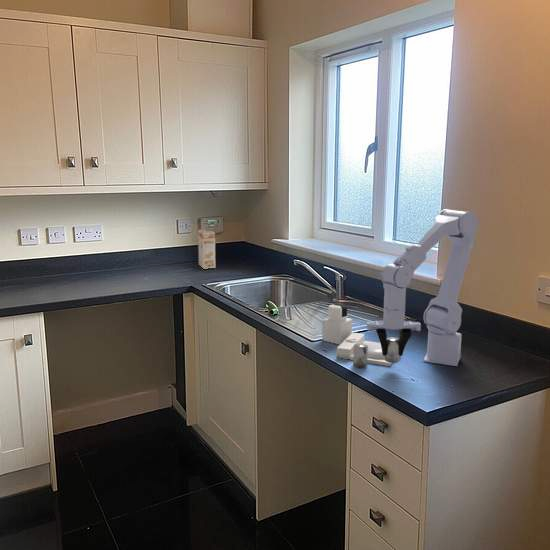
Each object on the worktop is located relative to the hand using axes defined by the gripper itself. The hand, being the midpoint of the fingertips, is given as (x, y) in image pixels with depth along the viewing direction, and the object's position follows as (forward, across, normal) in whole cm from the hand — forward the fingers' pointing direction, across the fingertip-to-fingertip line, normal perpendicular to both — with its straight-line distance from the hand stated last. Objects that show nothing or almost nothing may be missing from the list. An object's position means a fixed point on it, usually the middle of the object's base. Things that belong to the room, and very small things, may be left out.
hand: (392, 354), depth 157 cm
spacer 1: (+5, +8, -3) cm, 10 cm away
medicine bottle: (+5, +13, -26) cm, 29 cm away
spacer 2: (+2, 0, 0) cm, 2 cm away
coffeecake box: (+5, +73, -144) cm, 161 cm away
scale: (+5, +4, -14) cm, 15 cm away
